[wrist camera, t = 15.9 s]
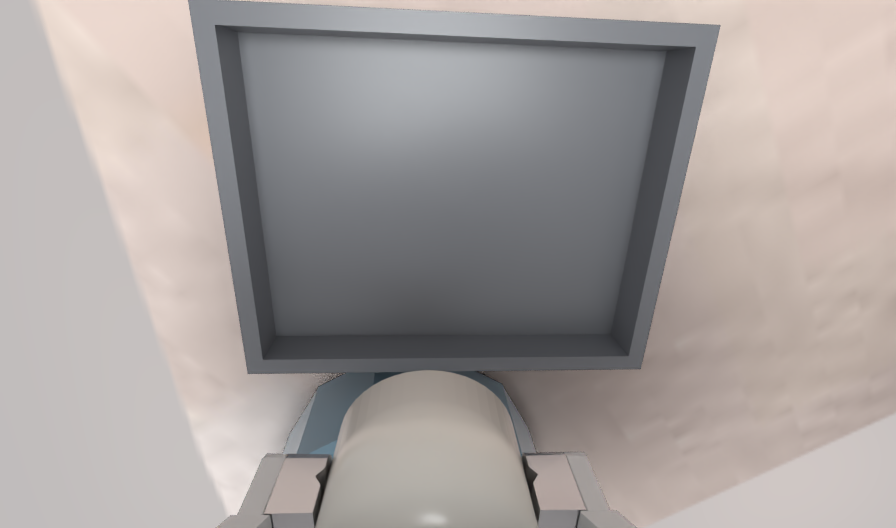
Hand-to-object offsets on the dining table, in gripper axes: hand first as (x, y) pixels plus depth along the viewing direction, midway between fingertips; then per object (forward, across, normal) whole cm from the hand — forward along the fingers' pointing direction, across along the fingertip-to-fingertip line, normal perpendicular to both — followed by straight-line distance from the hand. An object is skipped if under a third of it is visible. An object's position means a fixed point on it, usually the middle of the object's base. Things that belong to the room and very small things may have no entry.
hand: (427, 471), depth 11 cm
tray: (+14, -1, -3) cm, 14 cm away
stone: (+1, 0, 0) cm, 1 cm away
